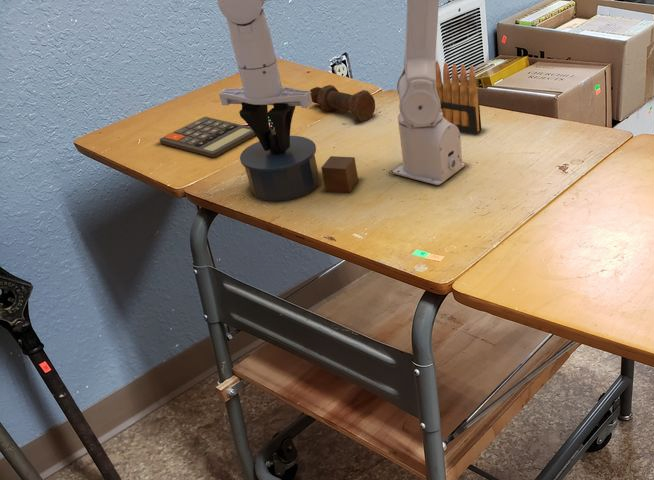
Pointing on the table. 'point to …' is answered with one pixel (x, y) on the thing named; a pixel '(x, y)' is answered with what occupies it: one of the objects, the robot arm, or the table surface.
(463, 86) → the ammunition clip
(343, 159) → the block
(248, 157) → the lid
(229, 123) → the calculator
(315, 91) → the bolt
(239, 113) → the robot arm
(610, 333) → the table surface
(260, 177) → the pot
